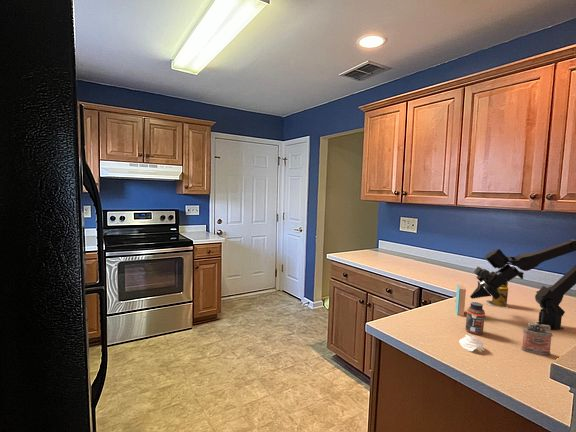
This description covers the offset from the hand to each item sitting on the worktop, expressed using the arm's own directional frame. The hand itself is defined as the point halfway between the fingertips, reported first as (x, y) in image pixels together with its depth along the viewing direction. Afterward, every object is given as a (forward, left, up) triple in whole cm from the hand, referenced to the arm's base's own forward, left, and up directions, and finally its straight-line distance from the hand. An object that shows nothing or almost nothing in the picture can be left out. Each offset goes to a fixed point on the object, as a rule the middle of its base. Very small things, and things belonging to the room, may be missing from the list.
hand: (470, 297), depth 140 cm
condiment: (+9, -24, -8) cm, 27 cm away
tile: (+2, +3, -8) cm, 9 cm away
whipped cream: (-25, +23, -8) cm, 35 cm away
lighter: (-32, +3, -8) cm, 33 cm away
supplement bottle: (-15, +12, -8) cm, 21 cm away
